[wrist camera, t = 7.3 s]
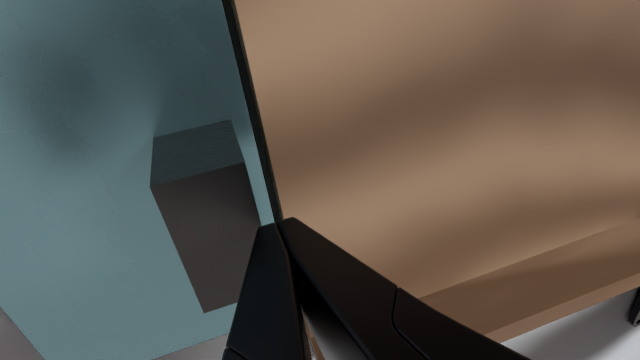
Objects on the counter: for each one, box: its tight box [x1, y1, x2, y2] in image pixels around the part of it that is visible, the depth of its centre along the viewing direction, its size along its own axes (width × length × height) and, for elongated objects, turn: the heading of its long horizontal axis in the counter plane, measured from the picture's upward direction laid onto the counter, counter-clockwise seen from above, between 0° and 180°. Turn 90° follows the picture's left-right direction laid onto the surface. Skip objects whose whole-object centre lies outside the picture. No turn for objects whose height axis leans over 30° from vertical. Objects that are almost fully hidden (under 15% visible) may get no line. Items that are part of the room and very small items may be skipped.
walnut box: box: [230, 0, 640, 360], centre depth 13 cm, size 18×20×4 cm
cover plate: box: [0, 0, 275, 360], centre depth 11 cm, size 12×8×4 cm, turn 7°
